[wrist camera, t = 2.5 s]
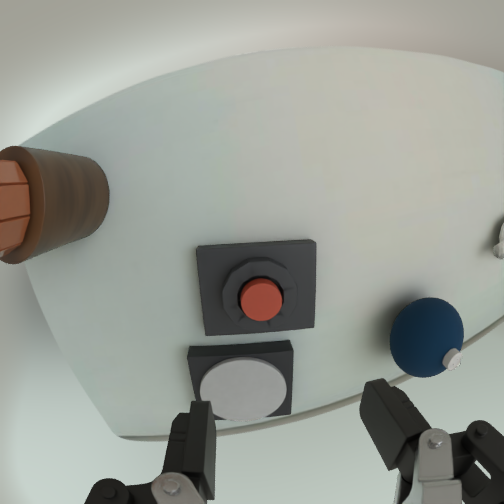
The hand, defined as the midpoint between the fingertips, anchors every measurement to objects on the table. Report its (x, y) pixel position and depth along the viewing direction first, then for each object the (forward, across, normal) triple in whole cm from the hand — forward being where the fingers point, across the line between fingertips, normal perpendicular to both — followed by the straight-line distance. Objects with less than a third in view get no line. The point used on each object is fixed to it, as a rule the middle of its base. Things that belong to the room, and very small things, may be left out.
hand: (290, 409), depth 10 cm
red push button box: (+16, 0, 0) cm, 16 cm away
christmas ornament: (+16, -17, +6) cm, 24 cm away
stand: (+16, +17, -10) cm, 25 cm away
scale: (+16, +2, +10) cm, 19 cm away
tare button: (+13, 0, 0) cm, 13 cm away
